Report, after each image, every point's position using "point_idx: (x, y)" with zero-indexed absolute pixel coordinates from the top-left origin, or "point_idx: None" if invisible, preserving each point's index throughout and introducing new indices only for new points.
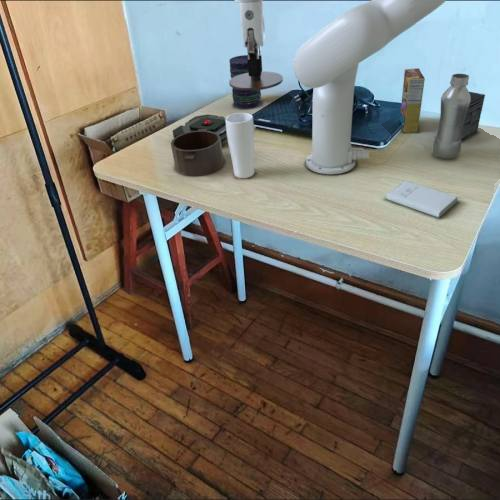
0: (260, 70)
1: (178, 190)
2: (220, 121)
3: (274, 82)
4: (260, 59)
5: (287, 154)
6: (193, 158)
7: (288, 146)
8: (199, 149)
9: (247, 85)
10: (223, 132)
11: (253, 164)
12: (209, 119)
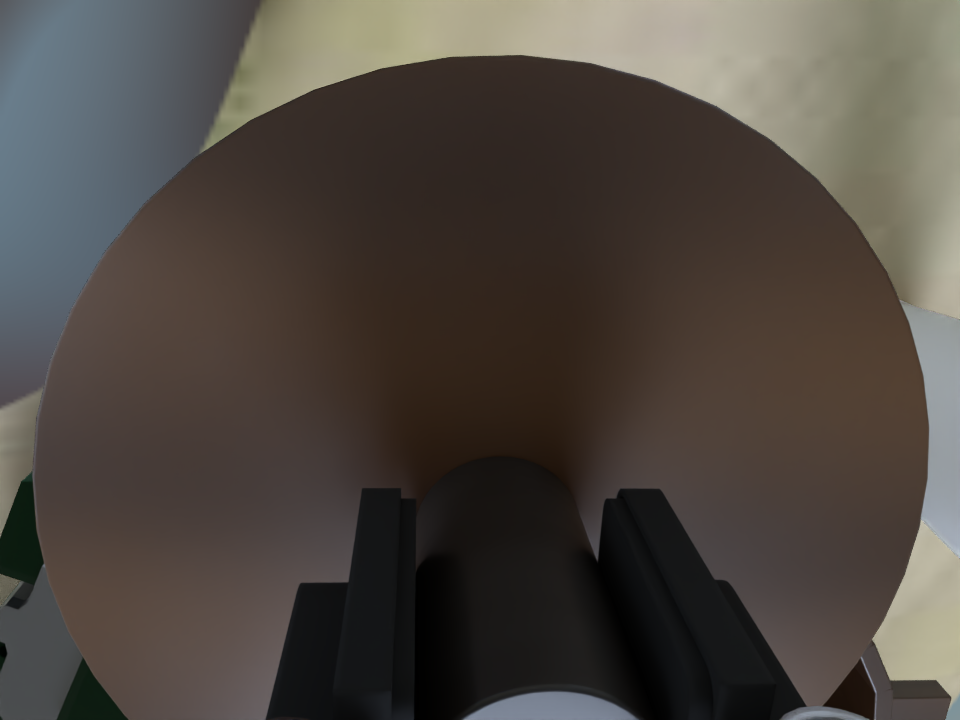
0: (682, 535)
1: (941, 666)
2: None
3: (757, 216)
4: (413, 646)
5: (605, 58)
6: (950, 696)
7: (461, 47)
8: (878, 691)
9: (771, 619)
10: None
11: (923, 308)
12: (112, 702)
